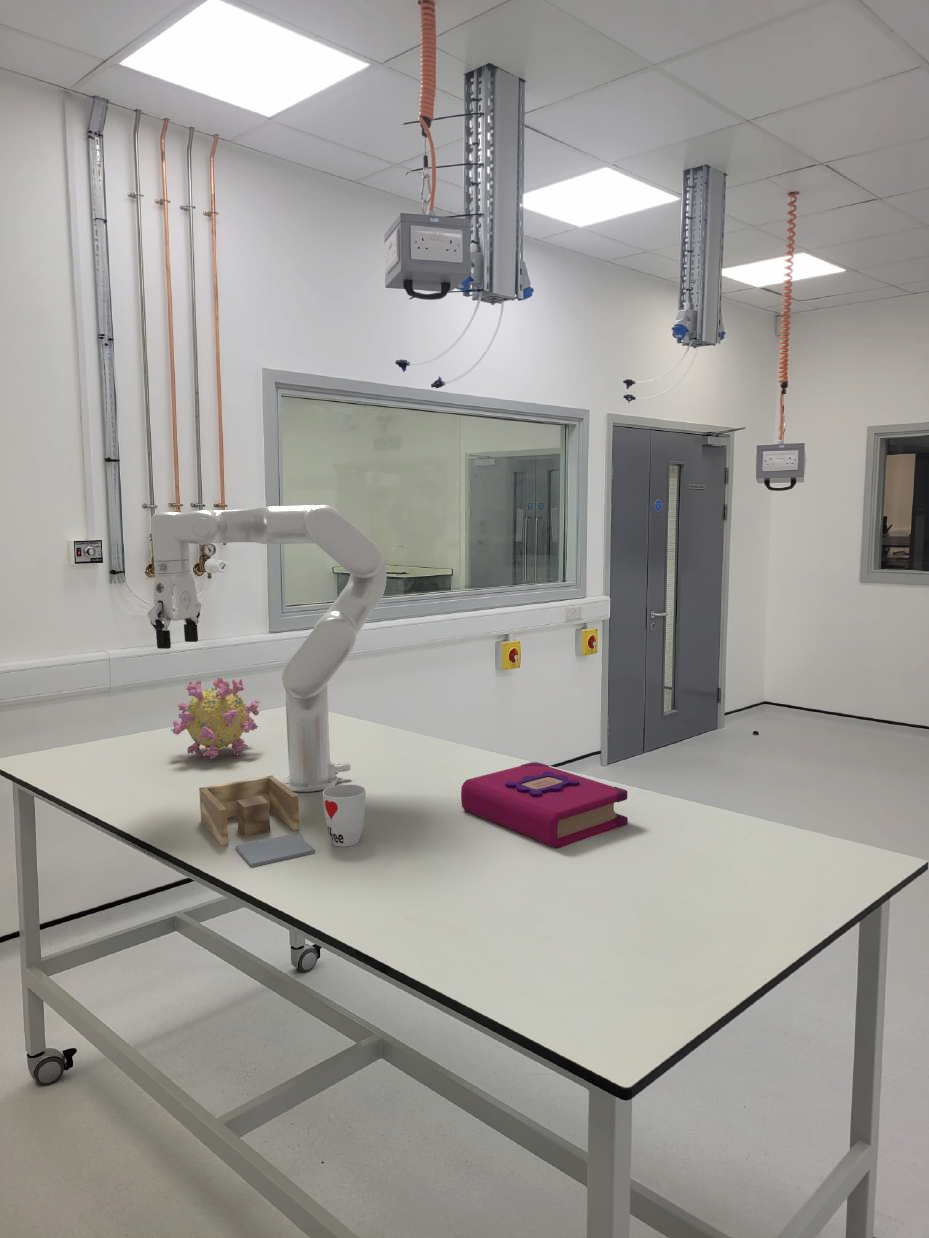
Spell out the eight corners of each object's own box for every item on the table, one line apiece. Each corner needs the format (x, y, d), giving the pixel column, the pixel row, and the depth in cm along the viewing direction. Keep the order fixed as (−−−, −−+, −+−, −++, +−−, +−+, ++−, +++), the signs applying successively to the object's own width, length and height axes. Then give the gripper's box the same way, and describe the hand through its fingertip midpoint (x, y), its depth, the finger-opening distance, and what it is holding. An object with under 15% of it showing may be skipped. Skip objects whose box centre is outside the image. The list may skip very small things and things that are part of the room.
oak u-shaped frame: (273, 806, 187) (272, 775, 186) (299, 829, 173) (298, 795, 172) (201, 821, 179) (199, 788, 178) (222, 845, 165) (220, 810, 164)
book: (553, 852, 160) (553, 812, 159) (461, 813, 182) (460, 777, 181) (630, 825, 173) (630, 788, 172) (535, 791, 195) (535, 758, 194)
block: (262, 824, 177) (261, 795, 176) (270, 831, 173) (268, 802, 172) (238, 829, 174) (236, 800, 174) (245, 836, 170) (243, 807, 169)
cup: (319, 838, 168) (317, 788, 167) (359, 831, 172) (357, 781, 170) (331, 852, 161) (329, 800, 160) (373, 844, 164) (371, 793, 163)
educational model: (155, 763, 222) (150, 687, 220) (205, 741, 243) (201, 671, 241) (235, 769, 215) (231, 691, 213) (279, 746, 237) (276, 674, 234)
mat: (296, 836, 170) (296, 833, 170) (315, 852, 161) (314, 849, 161) (235, 849, 164) (235, 846, 163) (251, 867, 155) (251, 863, 155)
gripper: (161, 571, 183) (167, 651, 185) (210, 565, 199) (215, 639, 201) (132, 571, 185) (138, 650, 187) (182, 565, 202) (187, 639, 204)
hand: (178, 644), depth 194 cm, fingers open, 9 cm apart
